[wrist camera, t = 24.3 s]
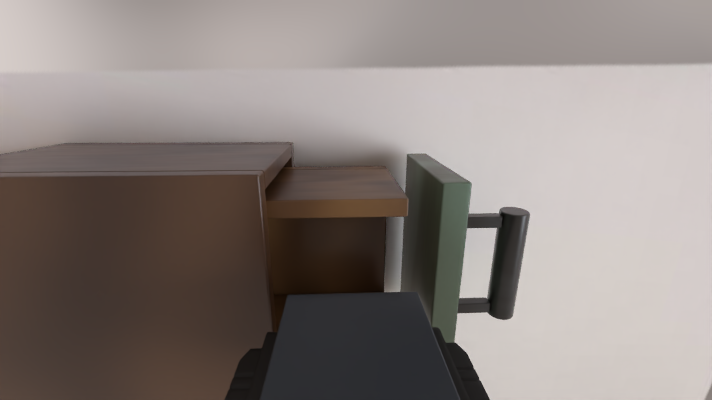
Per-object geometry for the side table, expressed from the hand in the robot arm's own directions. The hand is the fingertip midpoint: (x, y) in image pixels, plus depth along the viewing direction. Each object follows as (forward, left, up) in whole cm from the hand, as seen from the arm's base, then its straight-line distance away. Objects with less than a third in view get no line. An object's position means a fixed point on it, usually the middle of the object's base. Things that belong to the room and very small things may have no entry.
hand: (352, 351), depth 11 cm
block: (0, 0, 0) cm, 0 cm away
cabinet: (+8, -6, -11) cm, 15 cm away
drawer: (-1, +1, -11) cm, 11 cm away
